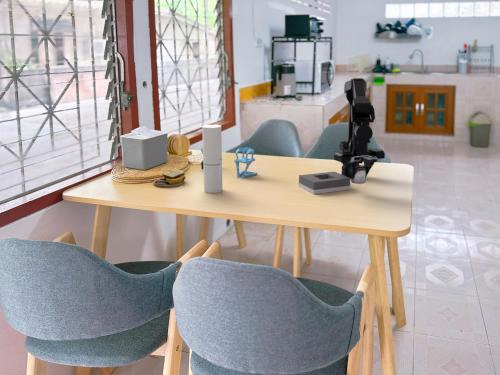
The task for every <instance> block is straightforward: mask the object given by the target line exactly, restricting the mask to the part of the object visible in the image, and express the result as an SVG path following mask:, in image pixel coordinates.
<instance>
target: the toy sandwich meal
mask: <svg viewBox="0 0 500 375" xmlns="http://www.w3.org/2000/svg"><path fill="white" fill-rule="evenodd" d="M162 176H163V177H162V178H158V179H155V180H154V181H153V184H154V185H155V186H156V187H159V188H176V187H179V186H182V185H183V184H184V183H185V180H186V176H185V170H182V169H174V168H173V169H171V170H169V171H166V172H163V173H162Z"/></svg>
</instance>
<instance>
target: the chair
mask: <svg viewBox="0 0 500 375" xmlns="http://www.w3.org/2000/svg"><path fill="white" fill-rule="evenodd" d="M239 152H241V153H242V154H241V157H239V155H238V154H239ZM245 152H246V153H245ZM254 153H255V150H254V149H253V148H251V147H248V146H245V147H240V148H237V150H236V151H235V153H234V154H235V156H236V157H235V159H234V163H235V168H236V178H240V177H241V178H242V179H245V178H248V177H253V176H257V175H258V172H255V171H248V169H249V167H250V165H251V164H252V163H253V162H255V161H256V158H254ZM250 154H251V157H248V156H249V155H250ZM241 163H242V164H246V166H245V168H244V170H241V171H240V164H241Z"/></svg>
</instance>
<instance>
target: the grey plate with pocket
mask: <svg viewBox="0 0 500 375" xmlns="http://www.w3.org/2000/svg"><path fill="white" fill-rule="evenodd" d="M298 187H299V188H301V189H303V190H304V191H307V192H308V193H311V194H313V195H315V194H326V193H333V192H339V191H341V192H342V191H348V190H349V191H350V189H351V179H350V178H349V177H346V176H344V175H342V173H339V172H337V171H325V172H318V173H317V172H316V173H309V174H308V173H307V174H300V175H298Z"/></svg>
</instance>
